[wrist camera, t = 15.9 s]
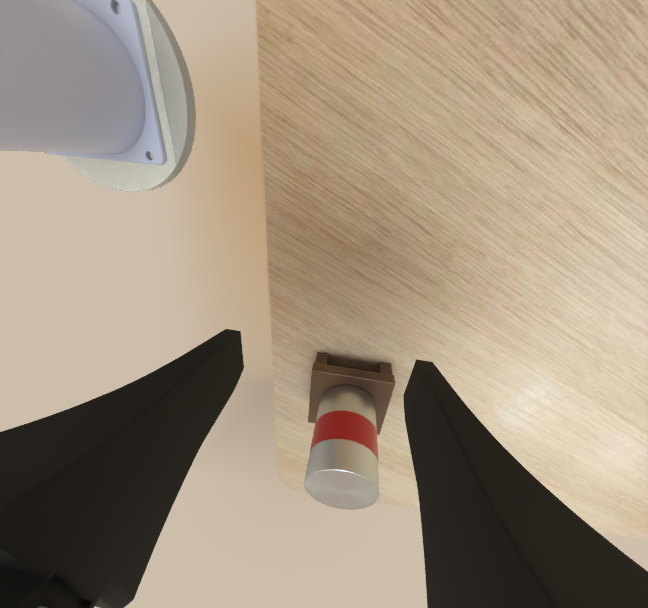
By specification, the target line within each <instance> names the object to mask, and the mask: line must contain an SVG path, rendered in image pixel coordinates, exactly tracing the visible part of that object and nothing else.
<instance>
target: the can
mask: <svg viewBox="0 0 648 608" xmlns="http://www.w3.org/2000/svg"><path fill="white" fill-rule="evenodd" d="M304 485H305V489H306V491H307V492H308V493H309V495H310V496H311V497H313V498H314V499H316V500H317V501H319V502H321V503H323V504H325V505H328V506H331V507H335V508H340V509H348V510H349V509H351V510H352V509H353V510H354V509H362V508H366V507H369V506H371V505H373V504H374V503H375V502H376V501H377V500H378V497H379V479H378V447H377V429H376V406H375V401H374V399H373V398H372V396H371V395H370V394H369V393H367V392H366V391H365V390H363V389H361V388H358V387H355V386H351V385H338V386H334V387H331V388H329V389H328V390H326V391H325V392H324V393H323V394H322V396H321V398H320V403H319V408H318V413H317V419H316V424H315V428H314V433H313V438H312V443H311V449H310V455H309V460H308V466H307V471H306V476H305V482H304Z"/></svg>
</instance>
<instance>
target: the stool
mask: <svg viewBox="0 0 648 608" xmlns="http://www.w3.org/2000/svg"><path fill="white" fill-rule="evenodd" d="M327 361H328V354H325V353H319V352H318V353H317V357H316V361H315V363H314V364H313V368H312V376H311V389H310V402H309V416H308V422H311V423H316V419H317V413H318V408H319V403H320V398H321V396H322V394H323V393H324V392H325V391H326V390H328V389H329V388H331V387H334V386H338V385H351V386H355V387H358V388H361V389H363V390H365V391H366V392H367V393H369V394H370V395H371V396H372V398H373V399H374V401H375V406H376V429H377V435H379V434H380V431H381V428H382V424H383V421H384V418H385V415H386V411H387V408H388V405H389V402H390V398H391V395H392V392H393V389H394V385H395V380H394V375H392V368H391V364H388V363H380V366H379V370H378V371H379V373H377V372H370V371H364V370H358V369H352V368H346V367H339V366H333V365H327Z"/></svg>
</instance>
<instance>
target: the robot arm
mask: <svg viewBox="0 0 648 608" xmlns="http://www.w3.org/2000/svg"><path fill="white" fill-rule="evenodd" d="M118 4H119V6H120V12H119V13H118V12H117V6H118ZM0 151H33V152H45V153H47V154H56V155H65V156H75V157H85V158H95V159H105V160H115V161H125V162H135V163H145V164H155V165H163V164H165V163H166V161H167V157H166V152H165V147H164V142H163V137H162V132H161V127H160V122H159V117H158V112H157V107H156V102H155V97H154V92H153V87H152V82H151V76H150V71H149V66H148V61H147V56H146V51H145V46H144V41H143V36H142V31H141V26H140V21H139V16H138V11H137V8H136V5H135V4H134V2H133V1H132V0H0ZM150 152H151V153H152V155H153V159H151V157H150ZM243 368H244V365H243V355H242V344H241V333H240V331H235V330H229V329H226V330H224V331H222V332H220V333H219V334H217V335H215V336H214V337H212V338H211V339H209V340H207V341H206V342H204V343H202V344H201V345H199V346H197V347H196V348H194V349H192V350H191V351H189V352H187V353H186V354H184V355H183V356H181V357H179V358H177V359H175V360H174V361H172V362H170V363H168V364H166V365H165V366H163V367H161V368H159V369H157V370H156V371H154V372H152V373H150V374H148V375H146V376H144V377H142V378H140V379H138V380H136V381H134V382H132V383H130V384H127V385H125V386H123V387H121V388H119V389H117V390H115V391H112V392H110V393H107V394H105V395H102V396H100V397H97V398H95V399H93V400H90V401H88V402H85V403H83V404H80V405H78V406H75V407H73V408H70V409H67V410H65V411H62V412H59V413H56V414H54V415H51V416H48V417H45V418H42V419H39V420H36V421H33V422H31V423H28V424H24V425H21V426H18V427H15V428H12V429H9V430H6V431H3V432H0V608H94V607H95V606H97V607H100V608H124V607H125V606H126V605H128V604H129V603H130V602H131V601H132V600H133V599H134V597H135V595H136V592H137V589H138V586H139V584H140V582H141V579H142V577H143V574H144V572H145V569H146V567H147V564H148V562H149V559H150V557H151V555H152V552H153V549H154V547H155V544H156V542H157V540H158V538H159V535H160V533H161V530H162V528H163V526H164V523H165V521H166V519H167V517H168V514H169V512H170V510H171V507H172V505H173V503H174V501H175V499H176V497H177V494H178V492H179V490H180V488H181V486H182V484H183V481H184V479H185V477H186V475H187V473H188V471H189V469H190V467H191V465H192V463H193V460H194V458H195V456H196V454H197V452H198V450H199V449H200V447H201V445H202V443H203V441H204V439H205V438H206V436H207V434H208V433H209V431H210V430H211V428H212V426H213V425H214V423H215V421H216V419H217V418H218V416H219V415H220V413H221V411H222V409H223V408H224V406H225V404H226V403H227V401H228V399H229V398H230V396H231V394H232V393H233V391H234V389H235V387H236V385H237V383H238V380H239V378H240V376H241V373H242V371H243ZM404 411H405V422H406V428H407V433H408V439H409V444H410V449H411V455H412V460H413V465H414V470H415V476H416V481H417V487H418V494H419V503H420V512H421V522H422V533H423V546H424V558H425V572H426V587H427V603H428V608H648V572H647V571H646V570H645V569H644V568H642V567H641V566H640V565H638V564H637V563H636V562H634V561H633V560H632V559H630V558H629V557H628V556H627V555H625V554H624V553H623V552H621V551H620V550H619V549H618V548H616V547H615V546H614V545H613V544H612V543H610V542H609V541H608V540H607V539H605V538H604V537H603V536H602V535H600V534H599V533H598V532H597V531H596V530H594V529H593V528H592V527H591V526H589V525H588V524H587V523H586V522H585V521H583V520H582V519H581V518H580V517H579V516H578V515H576V514H575V513H574V512H573V511H572V510H570V509H569V508H568V507H567V506H566V505H565V504H563V503H562V502H561V501H560V500H559V499H558V498H557V497H556V496H555V495H553V494H552V493H551V492H550V491H549V490H548V489H547V488H546V487H544V486H543V485H542V484H541V483H540V482H539V481H538V480H537V479H536V478H535V477H534V476H532V475H531V474H530V473H529V472H528V471H527V470H526V469H525V468H524V467H523V466H522V465H521V464H520V463H519V462H518V461H517V460H516V459H515V458H514V457H513V456H512V455H511V454H510V453H509V452H508V451H507V450H506V449H505V448H504V447H503V446H502V445H501V444H500V443H499V442H498V441H497V440H496V439H495V438H494V437H493V435H492V434H491V433H490V432H489V431H488V430H487V429H486V428H485V427H484V425H483V424H482V423H481V422H480V421H479V420H478V419H477V418H476V416H475V415H474V414H473V413H472V412H471V411H470V409H469V408H468V407H467V406H466V405H465V403H464V402H463V401H462V400H461V398H460V397H459V396H458V395H457V393H456V392H455V391H454V390H453V388H452V387H451V386H450V384H449V383H448V382H447V381H446V379H445V378H444V377H443V375H442V374H441V373H440V371H439V370H438V369H437V368H436V366H435V365H434V364H433V363H432V362H428V361H422V360H416V362H415V365H414V368H413V370H412V373H411V376H410V379H409V382H408V385H407V387H406V390H405V393H404Z"/></svg>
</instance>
